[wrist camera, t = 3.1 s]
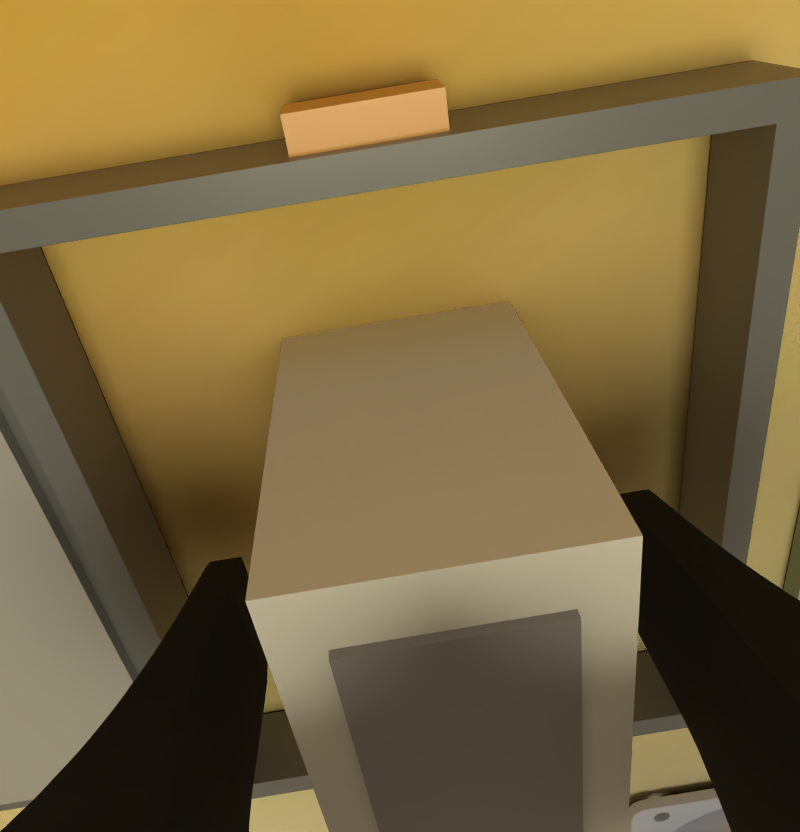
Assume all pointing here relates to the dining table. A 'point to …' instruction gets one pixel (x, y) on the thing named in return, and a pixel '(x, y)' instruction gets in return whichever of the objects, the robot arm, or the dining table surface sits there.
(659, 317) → the dining table surface
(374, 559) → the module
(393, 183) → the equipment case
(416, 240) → the dining table surface
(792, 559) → the rubber mat
